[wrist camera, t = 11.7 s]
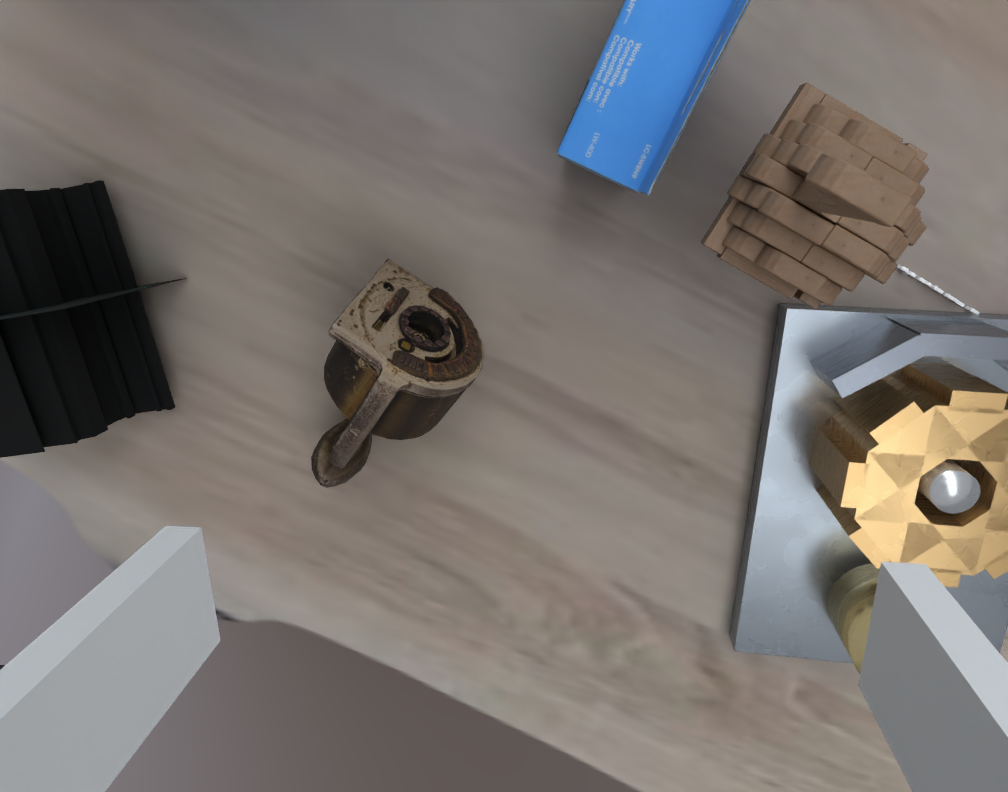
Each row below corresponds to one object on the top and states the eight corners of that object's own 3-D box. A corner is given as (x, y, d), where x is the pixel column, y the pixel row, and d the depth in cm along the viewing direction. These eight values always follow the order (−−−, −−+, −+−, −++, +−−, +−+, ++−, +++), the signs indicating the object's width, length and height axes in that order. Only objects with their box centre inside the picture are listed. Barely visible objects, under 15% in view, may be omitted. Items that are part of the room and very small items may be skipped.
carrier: (779, 303, 36) (818, 329, 30) (1074, 318, 34) (1179, 348, 28) (729, 635, 42) (753, 714, 36) (978, 659, 40) (1047, 746, 34)
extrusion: (159, 173, 38) (15, 173, 29) (224, 392, 41) (114, 456, 32) (-37, 213, 40) (-232, 224, 31) (40, 418, 43) (-114, 485, 34)
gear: (827, 356, 35) (864, 385, 30) (1029, 368, 34) (1100, 399, 29) (797, 526, 38) (827, 576, 33) (983, 541, 37) (1041, 595, 32)
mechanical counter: (516, 290, 37) (490, 329, 28) (442, 492, 41) (397, 586, 32) (389, 242, 37) (321, 265, 28) (328, 449, 41) (250, 529, 32)
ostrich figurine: (671, 225, 36) (738, 278, 19) (748, 100, 34) (903, 31, 17) (950, 386, 37) (1257, 576, 20) (1043, 274, 34) (1479, 377, 17)
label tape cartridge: (645, -27, 32) (675, -143, 21) (721, 10, 32) (794, -84, 21) (561, 158, 35) (545, 149, 23) (631, 192, 35) (650, 199, 24)
